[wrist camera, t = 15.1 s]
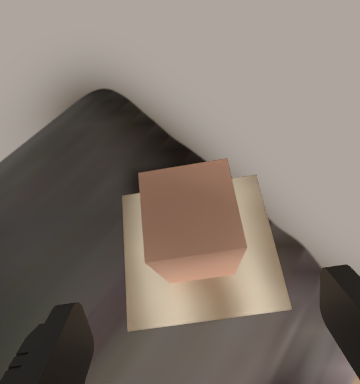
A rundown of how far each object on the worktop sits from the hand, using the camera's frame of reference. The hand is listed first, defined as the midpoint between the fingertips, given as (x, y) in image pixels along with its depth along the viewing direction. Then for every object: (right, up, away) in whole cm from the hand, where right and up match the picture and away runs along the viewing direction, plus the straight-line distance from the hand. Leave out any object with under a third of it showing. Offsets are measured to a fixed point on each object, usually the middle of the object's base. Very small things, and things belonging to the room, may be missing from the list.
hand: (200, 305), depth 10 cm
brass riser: (+1, -2, +17) cm, 17 cm away
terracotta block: (+1, -1, +13) cm, 14 cm away
